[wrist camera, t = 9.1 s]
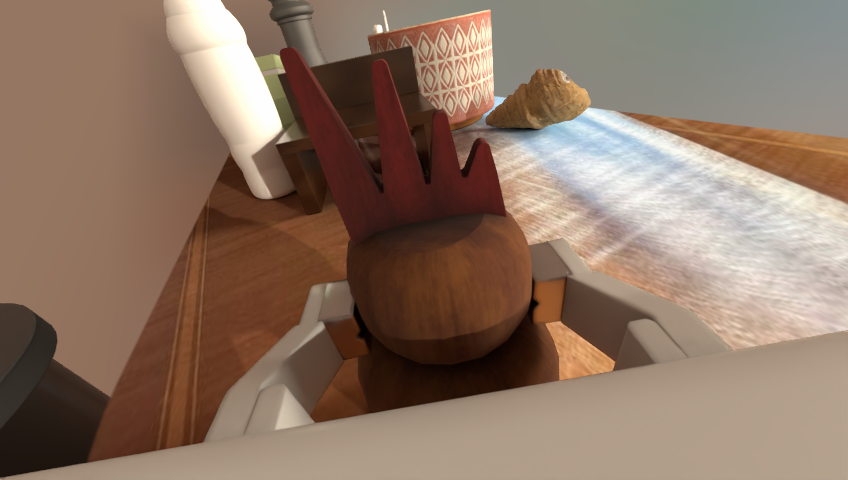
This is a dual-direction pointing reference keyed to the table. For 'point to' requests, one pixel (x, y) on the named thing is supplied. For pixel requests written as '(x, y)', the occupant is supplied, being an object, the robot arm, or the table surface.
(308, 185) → the miniature wooden bench
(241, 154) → the water bottle
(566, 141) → the table surface
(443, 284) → the wooden figurine
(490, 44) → the planter
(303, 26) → the candle holder
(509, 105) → the seashell
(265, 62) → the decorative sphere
